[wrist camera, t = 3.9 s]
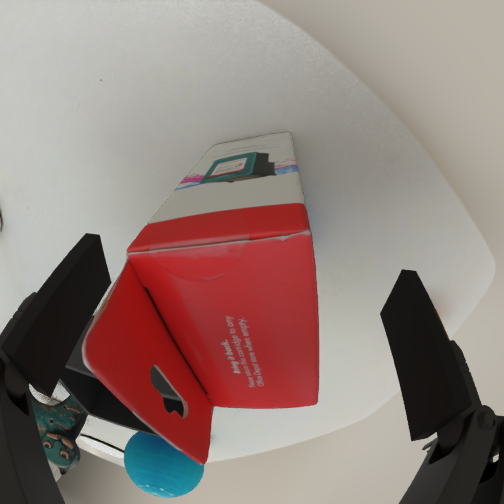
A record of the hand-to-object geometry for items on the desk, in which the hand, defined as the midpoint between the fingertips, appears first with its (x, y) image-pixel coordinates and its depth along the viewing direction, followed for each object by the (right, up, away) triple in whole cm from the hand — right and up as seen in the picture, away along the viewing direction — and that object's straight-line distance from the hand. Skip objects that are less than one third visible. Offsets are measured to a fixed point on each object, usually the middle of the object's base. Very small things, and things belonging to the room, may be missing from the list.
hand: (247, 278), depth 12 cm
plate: (-52, -69, +63) cm, 107 cm away
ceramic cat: (-36, -22, +29) cm, 51 cm away
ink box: (+1, +5, +7) cm, 8 cm away
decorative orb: (-15, -33, +35) cm, 50 cm away
